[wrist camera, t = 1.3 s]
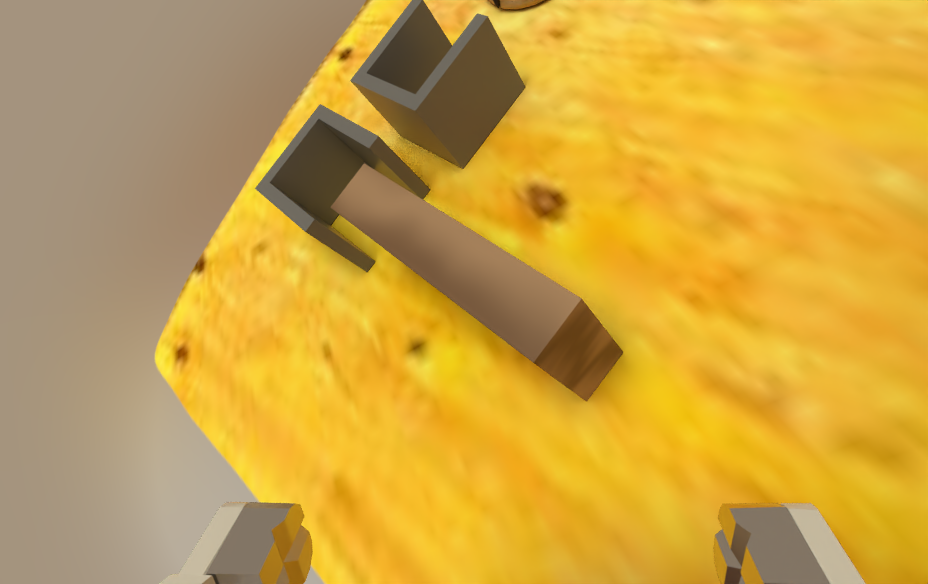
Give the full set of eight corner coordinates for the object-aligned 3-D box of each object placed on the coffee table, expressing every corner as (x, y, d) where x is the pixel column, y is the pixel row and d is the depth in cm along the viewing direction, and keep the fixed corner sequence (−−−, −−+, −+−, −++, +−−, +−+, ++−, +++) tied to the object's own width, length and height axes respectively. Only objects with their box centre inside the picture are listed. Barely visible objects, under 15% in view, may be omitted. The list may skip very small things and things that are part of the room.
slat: (433, 227, 46) (364, 163, 38) (623, 352, 35) (581, 298, 26) (406, 264, 46) (330, 207, 38) (587, 401, 34) (533, 362, 26)
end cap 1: (373, 156, 53) (320, 104, 47) (430, 189, 48) (378, 136, 41) (317, 230, 53) (255, 188, 47) (367, 272, 48) (305, 231, 41)
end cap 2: (401, 136, 52) (350, 80, 46) (457, 63, 53) (414, -3, 46) (463, 168, 47) (415, 110, 40) (525, 86, 47) (487, 16, 41)
